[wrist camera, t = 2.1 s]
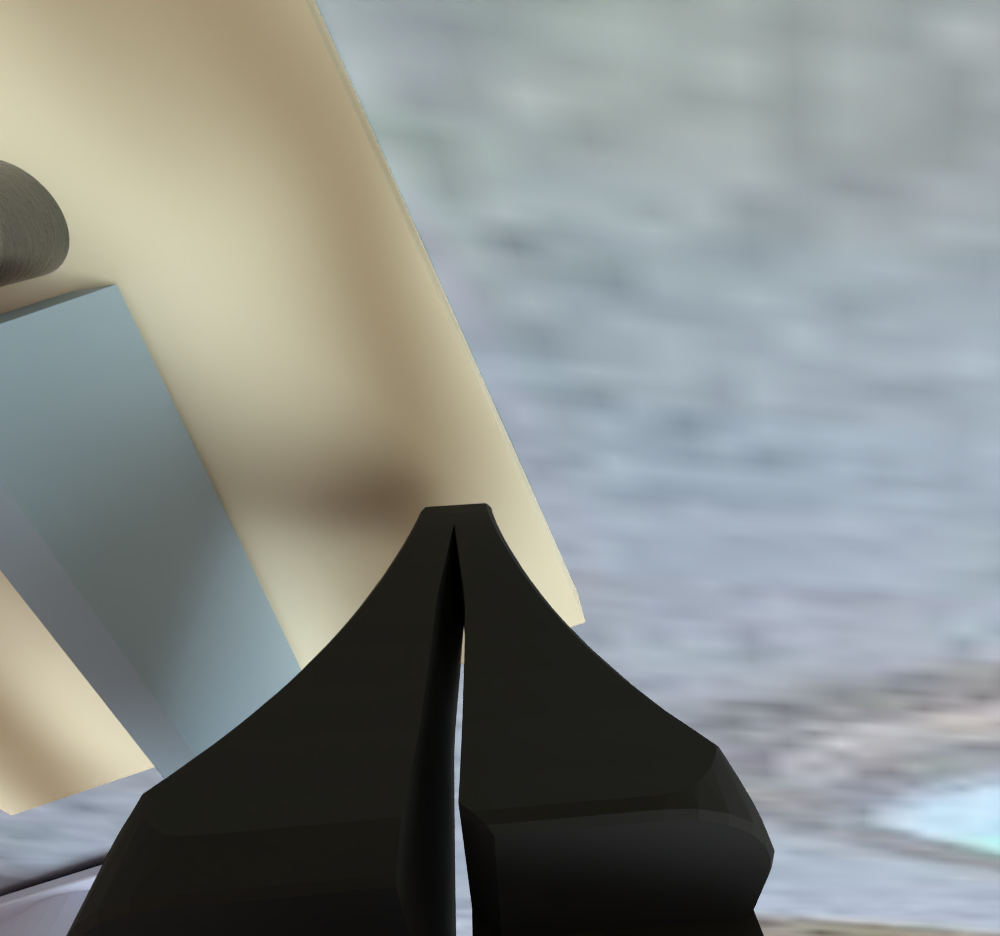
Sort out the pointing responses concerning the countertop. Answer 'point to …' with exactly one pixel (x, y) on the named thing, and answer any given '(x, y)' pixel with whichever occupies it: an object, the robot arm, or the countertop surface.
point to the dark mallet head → (28, 228)
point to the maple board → (246, 323)
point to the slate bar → (126, 532)
